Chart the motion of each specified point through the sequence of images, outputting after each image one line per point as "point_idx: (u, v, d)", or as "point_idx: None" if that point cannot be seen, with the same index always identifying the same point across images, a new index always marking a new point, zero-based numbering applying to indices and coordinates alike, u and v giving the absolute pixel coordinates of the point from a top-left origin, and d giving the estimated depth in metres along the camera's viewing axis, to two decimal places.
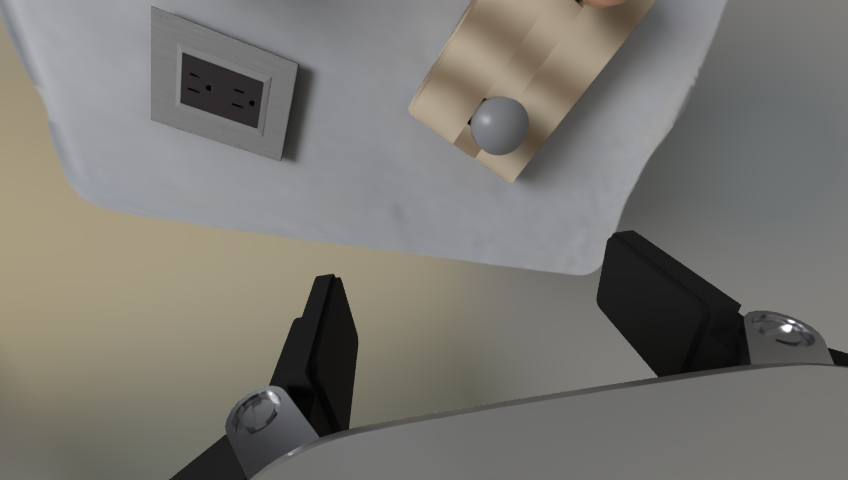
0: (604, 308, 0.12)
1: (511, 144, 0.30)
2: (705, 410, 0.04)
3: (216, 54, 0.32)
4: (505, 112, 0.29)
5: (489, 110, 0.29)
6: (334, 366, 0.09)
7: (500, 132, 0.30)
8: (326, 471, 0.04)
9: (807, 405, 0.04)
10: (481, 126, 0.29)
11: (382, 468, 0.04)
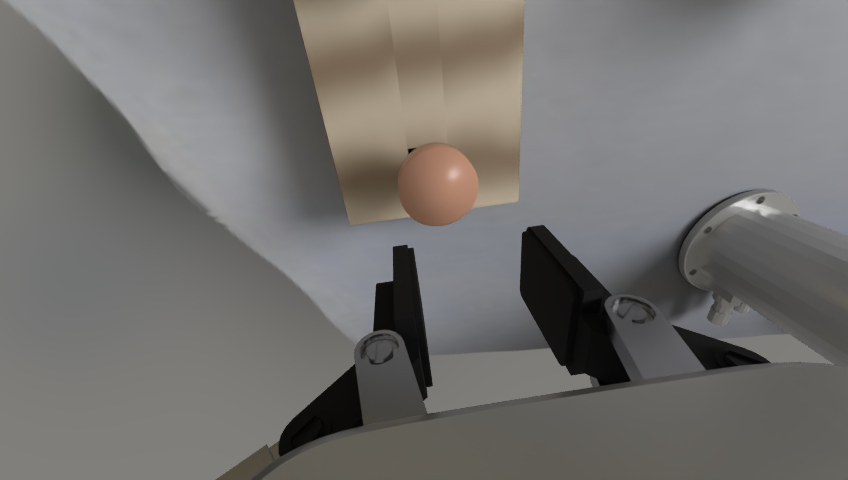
0: (524, 297, 0.13)
1: None
2: (706, 410, 0.04)
3: None
4: None
5: None
6: (423, 321, 0.10)
7: None
8: (326, 471, 0.04)
9: (807, 405, 0.04)
10: None
11: (382, 468, 0.04)
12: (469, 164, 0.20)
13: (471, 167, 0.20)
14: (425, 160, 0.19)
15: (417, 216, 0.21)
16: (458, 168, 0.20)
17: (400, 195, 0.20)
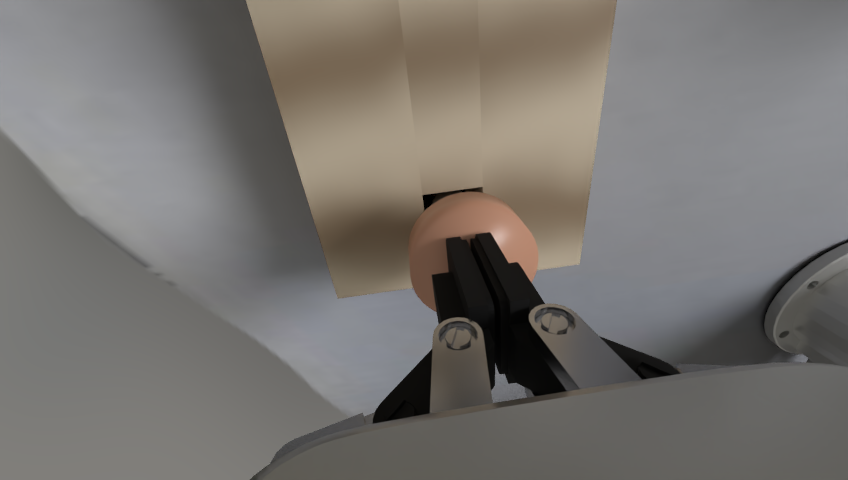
0: None
1: None
2: (706, 409, 0.04)
3: None
4: None
5: None
6: None
7: None
8: (326, 471, 0.04)
9: (808, 405, 0.04)
10: None
11: (382, 468, 0.04)
12: (526, 231, 0.12)
13: (529, 236, 0.12)
14: (455, 227, 0.12)
15: None
16: (508, 238, 0.12)
17: (413, 278, 0.13)
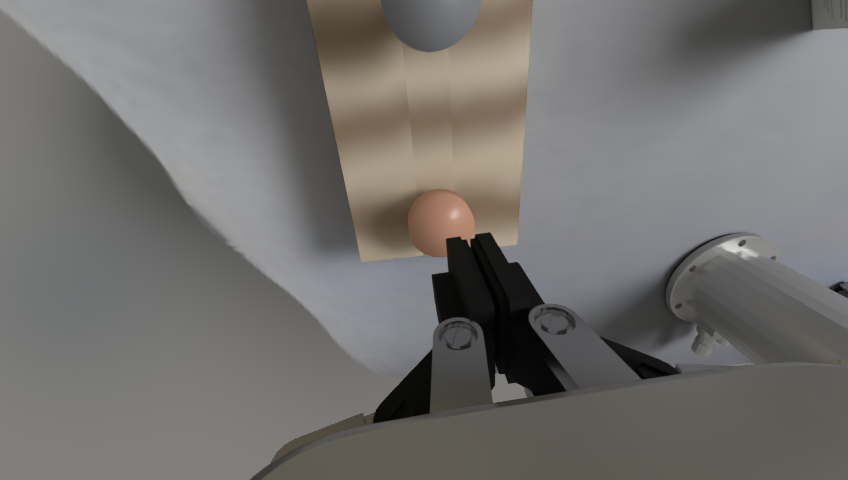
0: None
1: None
2: (704, 409, 0.04)
3: None
4: (444, 19, 0.16)
5: (470, 1, 0.16)
6: None
7: None
8: (326, 471, 0.04)
9: (807, 405, 0.04)
10: None
11: (382, 468, 0.04)
12: (467, 209, 0.24)
13: (469, 211, 0.24)
14: (431, 205, 0.23)
15: (423, 249, 0.25)
16: (458, 212, 0.24)
17: (410, 232, 0.24)
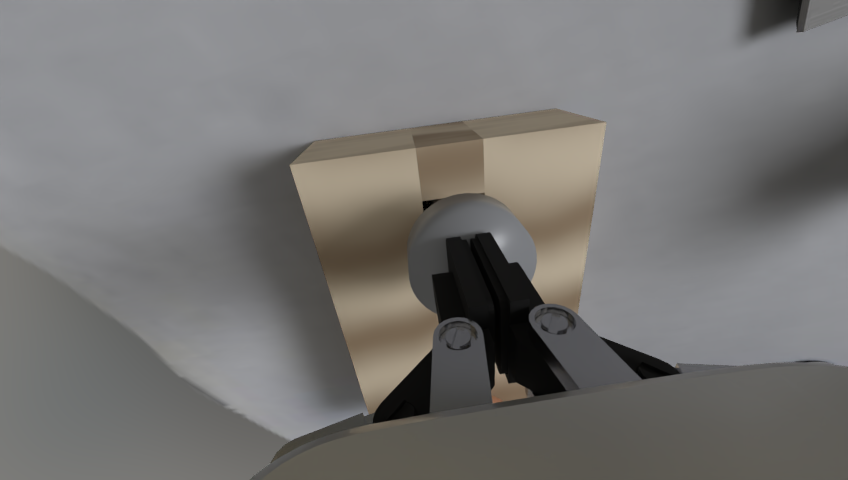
0: None
1: (426, 262, 0.12)
2: (706, 410, 0.04)
3: None
4: None
5: None
6: None
7: None
8: (325, 471, 0.04)
9: (807, 405, 0.04)
10: (516, 243, 0.12)
11: (382, 468, 0.04)
12: None
13: None
14: None
15: None
16: None
17: None
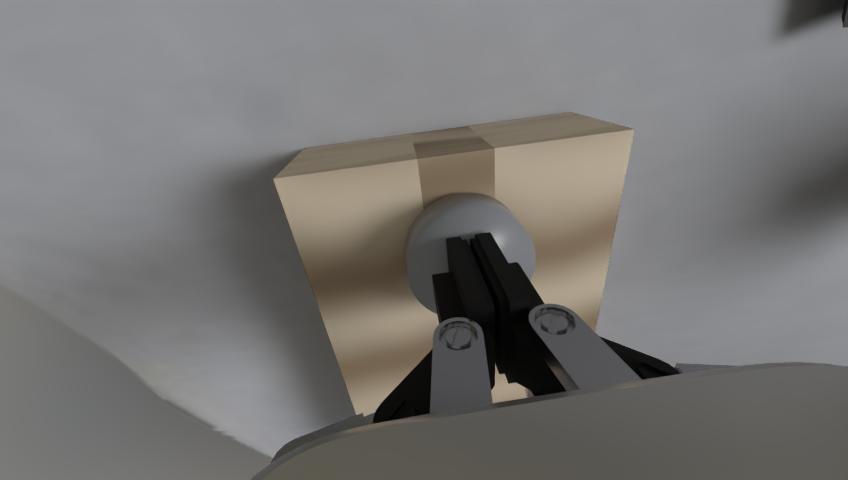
0: None
1: (425, 262, 0.12)
2: (706, 409, 0.04)
3: None
4: None
5: None
6: None
7: None
8: (325, 471, 0.04)
9: (807, 405, 0.04)
10: (514, 243, 0.12)
11: (382, 468, 0.04)
12: None
13: None
14: None
15: None
16: None
17: None
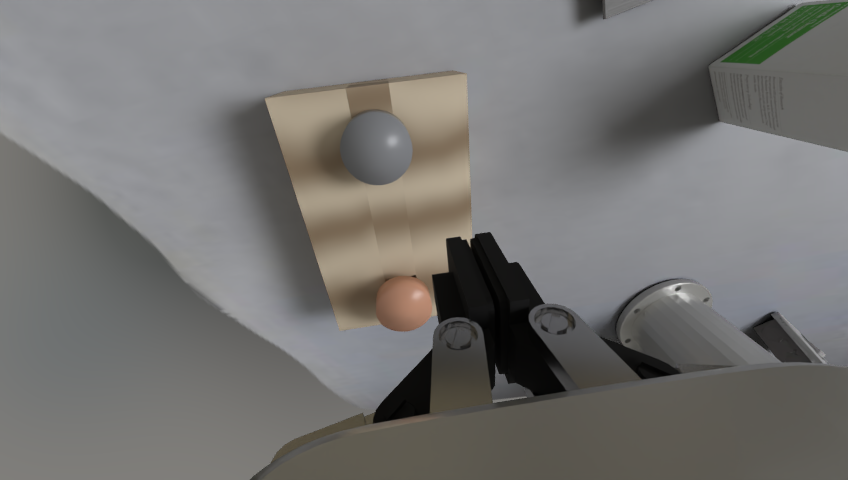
0: None
1: (349, 145, 0.22)
2: (705, 409, 0.04)
3: None
4: (387, 166, 0.23)
5: (404, 155, 0.23)
6: None
7: (373, 145, 0.22)
8: (326, 470, 0.04)
9: (807, 405, 0.04)
10: (398, 134, 0.22)
11: (382, 468, 0.04)
12: (425, 295, 0.28)
13: (426, 297, 0.28)
14: (394, 294, 0.28)
15: (390, 326, 0.30)
16: (417, 298, 0.28)
17: (377, 315, 0.29)
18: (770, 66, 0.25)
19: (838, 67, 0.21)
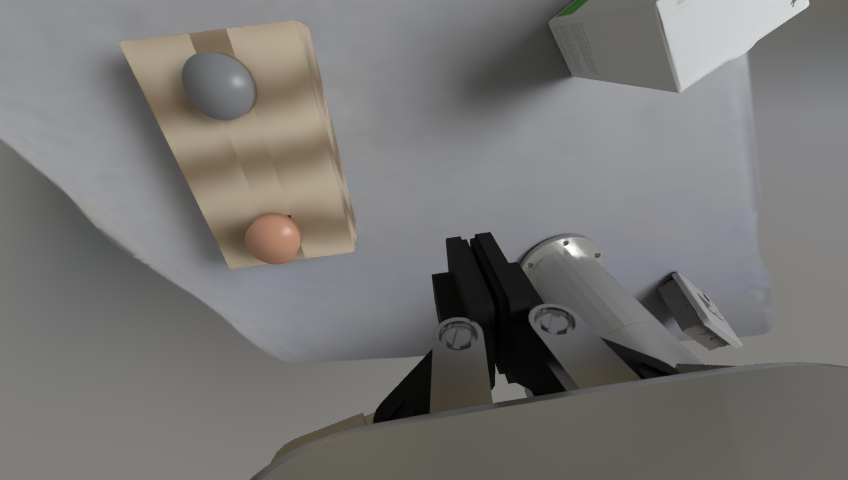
0: None
1: (190, 81, 0.26)
2: (706, 410, 0.04)
3: None
4: (229, 102, 0.27)
5: (242, 92, 0.26)
6: None
7: (212, 82, 0.26)
8: (326, 470, 0.04)
9: (807, 405, 0.04)
10: (232, 72, 0.26)
11: (382, 468, 0.04)
12: (287, 228, 0.32)
13: (289, 230, 0.32)
14: (258, 226, 0.31)
15: (262, 258, 0.33)
16: (281, 231, 0.32)
17: (247, 246, 0.32)
18: (576, 14, 0.28)
19: (606, 6, 0.24)
